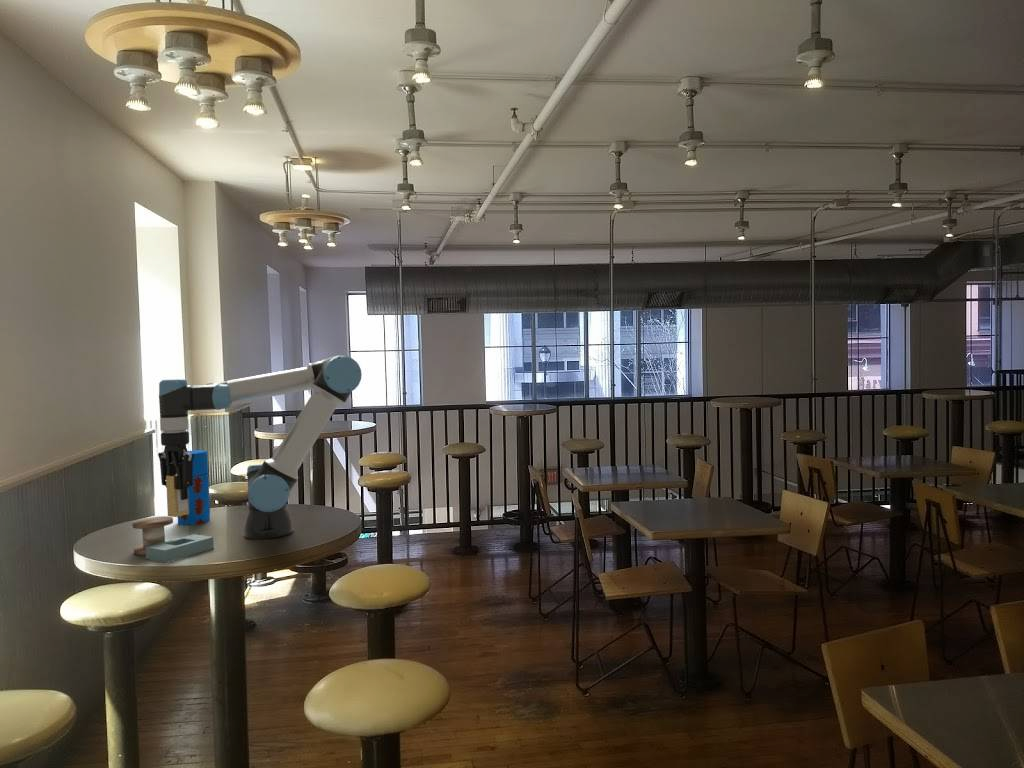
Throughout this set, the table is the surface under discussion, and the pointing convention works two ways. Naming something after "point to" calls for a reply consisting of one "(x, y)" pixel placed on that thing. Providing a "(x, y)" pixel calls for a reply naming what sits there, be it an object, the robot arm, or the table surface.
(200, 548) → the notch board
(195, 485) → the thermos
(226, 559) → the table surface
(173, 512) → the tab
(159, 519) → the spool
